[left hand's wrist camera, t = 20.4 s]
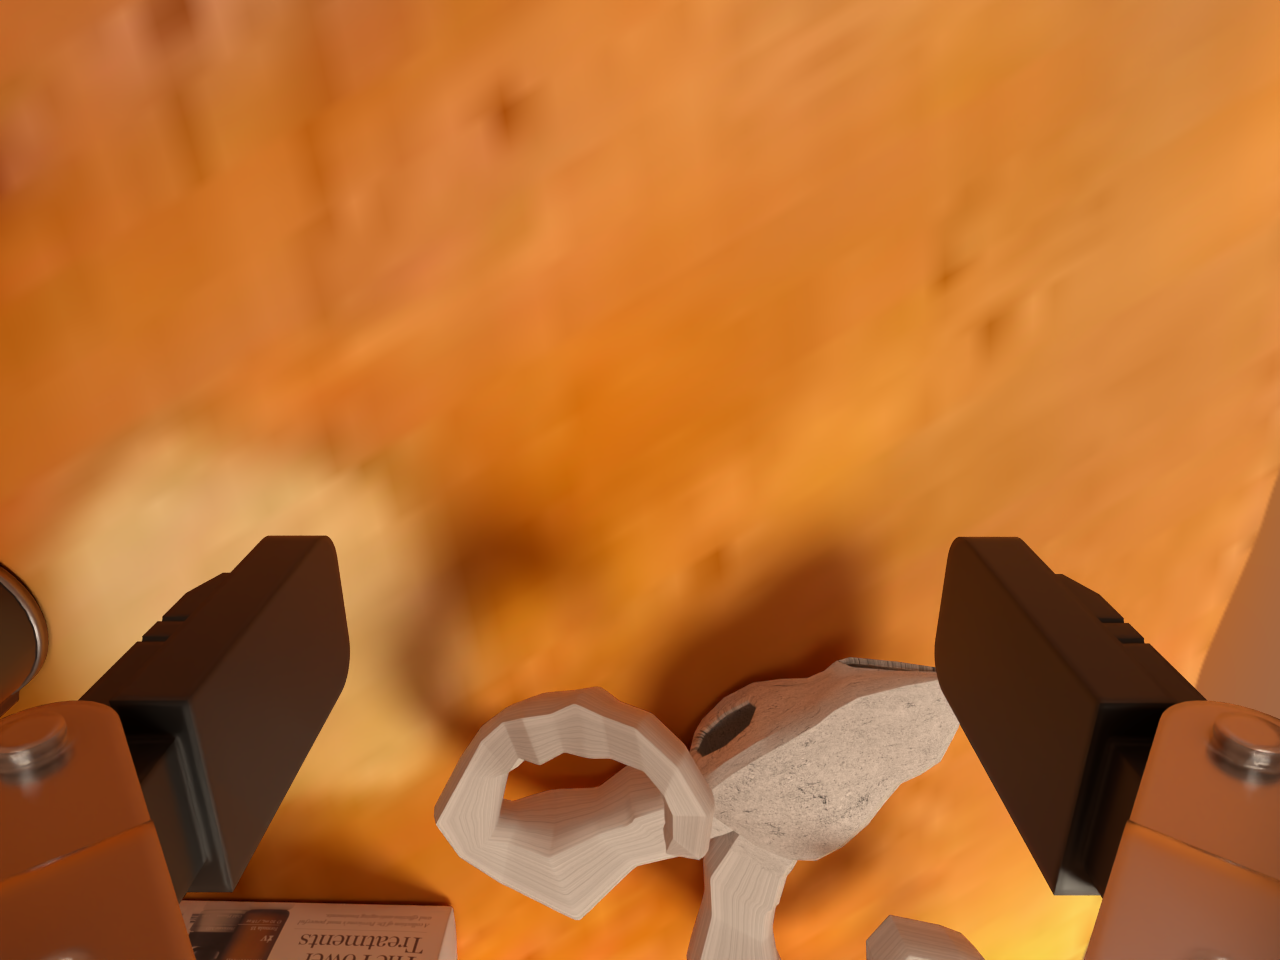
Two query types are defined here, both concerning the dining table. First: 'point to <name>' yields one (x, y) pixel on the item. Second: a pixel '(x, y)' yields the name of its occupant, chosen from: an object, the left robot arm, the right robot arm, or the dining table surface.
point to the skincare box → (318, 931)
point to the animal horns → (706, 797)
